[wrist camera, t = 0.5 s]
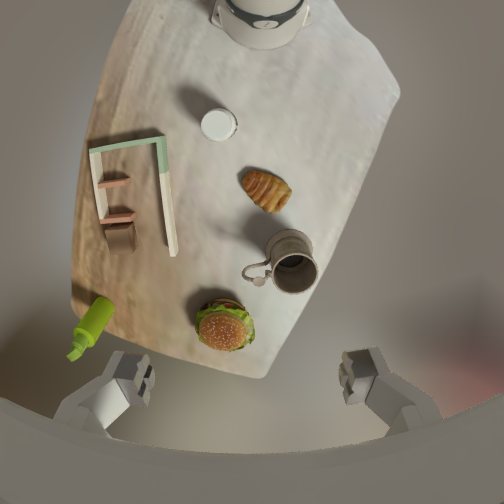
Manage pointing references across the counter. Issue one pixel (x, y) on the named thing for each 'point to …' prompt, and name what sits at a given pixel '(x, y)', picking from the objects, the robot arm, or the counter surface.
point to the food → (224, 325)
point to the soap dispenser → (91, 326)
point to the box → (101, 184)
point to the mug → (284, 277)
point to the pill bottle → (218, 124)
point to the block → (121, 238)
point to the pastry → (266, 191)
